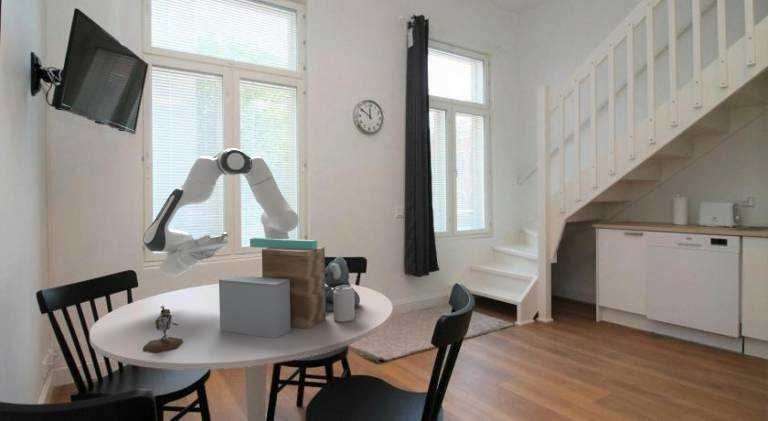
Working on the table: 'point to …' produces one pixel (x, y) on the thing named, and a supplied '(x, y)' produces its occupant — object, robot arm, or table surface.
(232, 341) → the table surface
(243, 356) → the table surface
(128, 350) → the table surface
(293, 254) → the tall wooden block
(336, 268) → the koala plush
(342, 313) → the can
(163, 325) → the robot figurine
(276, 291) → the low stand
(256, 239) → the teal bar
